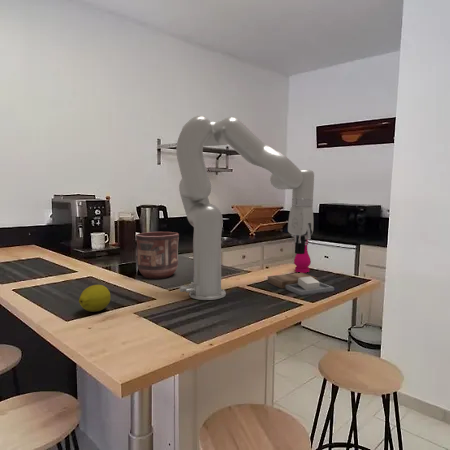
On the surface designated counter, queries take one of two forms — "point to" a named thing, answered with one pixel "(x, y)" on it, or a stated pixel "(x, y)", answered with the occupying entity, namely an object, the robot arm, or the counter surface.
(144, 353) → the counter surface
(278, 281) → the walnut plate
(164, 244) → the pottery
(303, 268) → the pepper mill
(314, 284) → the tile
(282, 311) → the counter surface
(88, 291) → the lemon
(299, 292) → the tray
